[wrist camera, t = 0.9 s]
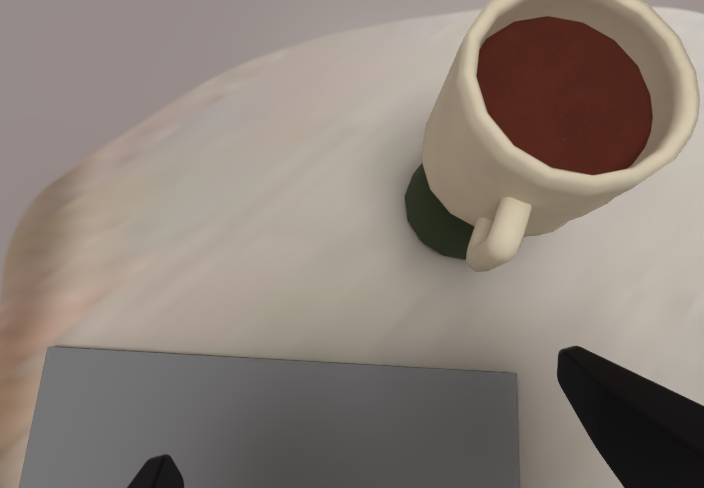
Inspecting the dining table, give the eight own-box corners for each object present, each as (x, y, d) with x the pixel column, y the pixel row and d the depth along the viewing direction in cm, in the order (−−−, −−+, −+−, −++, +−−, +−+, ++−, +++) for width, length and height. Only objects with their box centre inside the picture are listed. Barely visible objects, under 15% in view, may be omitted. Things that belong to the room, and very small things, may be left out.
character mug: (487, 319, 24) (661, 295, 11) (366, 272, 24) (402, 196, 12) (541, 149, 26) (734, -30, 14) (430, 107, 27) (518, -105, 14)
